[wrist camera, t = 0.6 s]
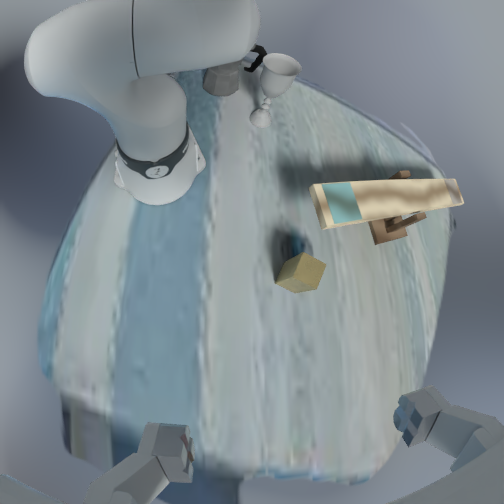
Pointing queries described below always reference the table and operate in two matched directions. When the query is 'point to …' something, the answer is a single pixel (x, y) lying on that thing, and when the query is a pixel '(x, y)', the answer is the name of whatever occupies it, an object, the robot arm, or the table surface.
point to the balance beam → (380, 199)
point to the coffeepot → (229, 75)
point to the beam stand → (393, 221)
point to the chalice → (274, 83)
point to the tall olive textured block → (301, 273)
